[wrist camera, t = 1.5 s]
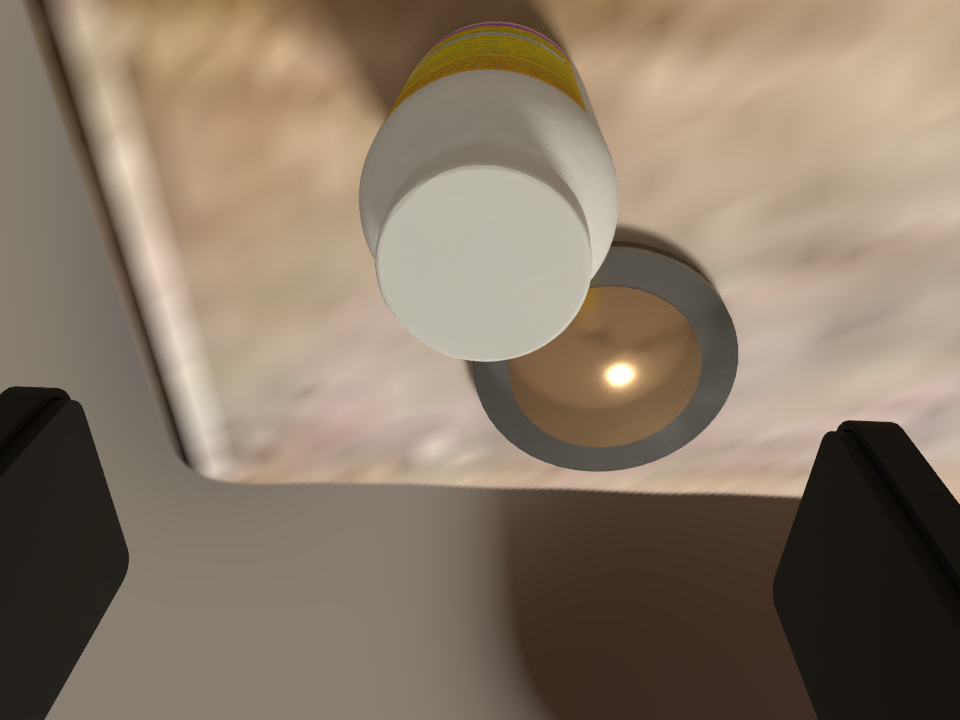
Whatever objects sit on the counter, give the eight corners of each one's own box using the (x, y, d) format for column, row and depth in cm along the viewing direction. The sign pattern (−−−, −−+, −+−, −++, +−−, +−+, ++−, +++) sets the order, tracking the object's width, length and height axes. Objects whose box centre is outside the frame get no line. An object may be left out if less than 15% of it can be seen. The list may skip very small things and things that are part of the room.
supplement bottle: (370, 69, 26) (264, 190, 15) (545, -18, 24) (572, 45, 13) (453, 234, 29) (416, 433, 18) (613, 166, 27) (680, 340, 16)
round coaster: (759, 247, 29) (766, 256, 28) (706, 465, 34) (710, 478, 34) (478, 236, 29) (477, 245, 28) (472, 454, 35) (471, 467, 34)
